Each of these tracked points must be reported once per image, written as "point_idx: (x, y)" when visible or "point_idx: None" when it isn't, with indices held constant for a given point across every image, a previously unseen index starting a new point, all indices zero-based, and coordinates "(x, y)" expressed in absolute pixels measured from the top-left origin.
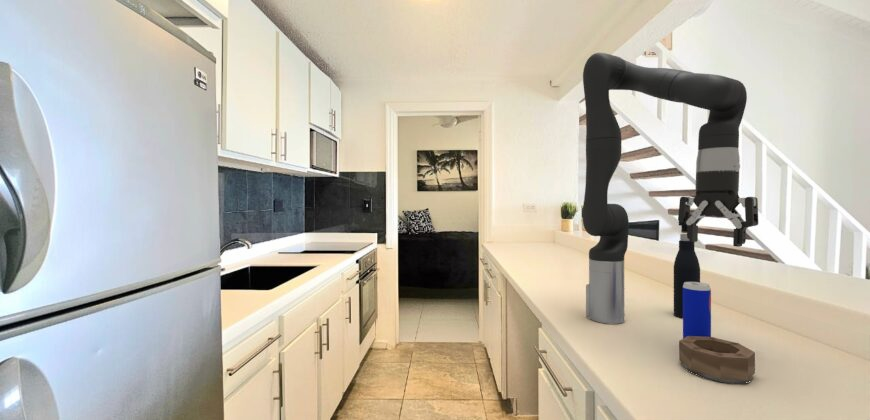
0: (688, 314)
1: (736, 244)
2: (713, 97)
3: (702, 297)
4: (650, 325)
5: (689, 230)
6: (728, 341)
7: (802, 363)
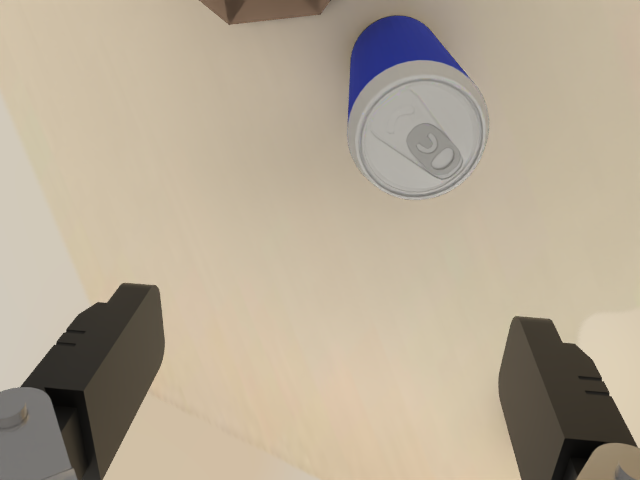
0: (420, 36)
1: (124, 284)
2: None
3: (366, 74)
4: (622, 203)
5: (586, 396)
6: (258, 13)
7: (170, 220)
